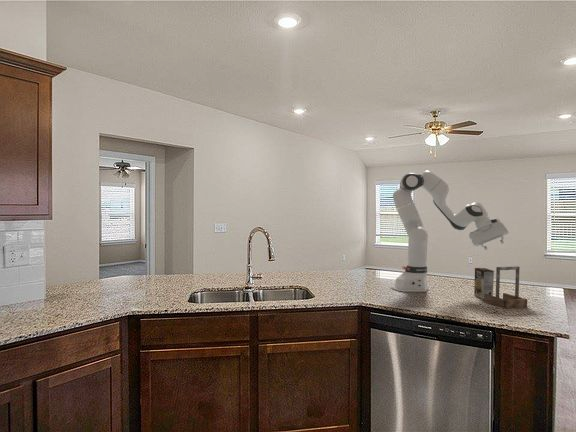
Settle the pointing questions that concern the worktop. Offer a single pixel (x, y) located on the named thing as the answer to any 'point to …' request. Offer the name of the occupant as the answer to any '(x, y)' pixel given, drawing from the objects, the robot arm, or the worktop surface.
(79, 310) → the worktop surface
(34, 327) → the worktop surface
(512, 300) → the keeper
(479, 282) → the coffee box
